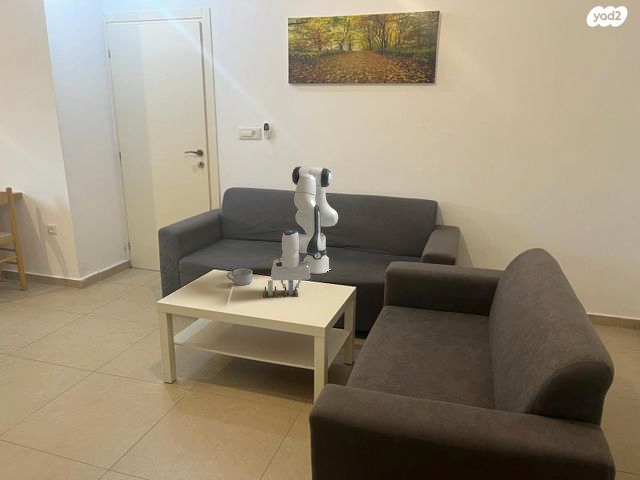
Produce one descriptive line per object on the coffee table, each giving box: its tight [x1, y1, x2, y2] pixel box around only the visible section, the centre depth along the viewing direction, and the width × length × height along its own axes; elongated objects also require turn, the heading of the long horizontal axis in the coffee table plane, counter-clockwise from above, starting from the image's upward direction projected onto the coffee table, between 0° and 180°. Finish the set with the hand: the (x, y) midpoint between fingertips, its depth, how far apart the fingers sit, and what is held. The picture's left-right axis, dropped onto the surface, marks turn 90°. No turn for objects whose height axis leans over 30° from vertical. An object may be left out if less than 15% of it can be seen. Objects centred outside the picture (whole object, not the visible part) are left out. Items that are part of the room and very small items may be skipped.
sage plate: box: [267, 279, 274, 296], centre depth 240 cm, size 6×2×6 cm, turn 6°
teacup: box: [226, 268, 253, 286], centre depth 259 cm, size 14×11×8 cm
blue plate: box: [287, 280, 294, 295], centre depth 241 cm, size 6×2×6 cm, turn 6°
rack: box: [262, 285, 300, 299], centre depth 241 cm, size 12×18×4 cm, turn 96°
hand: (290, 287), depth 241 cm, fingers open, 5 cm apart
